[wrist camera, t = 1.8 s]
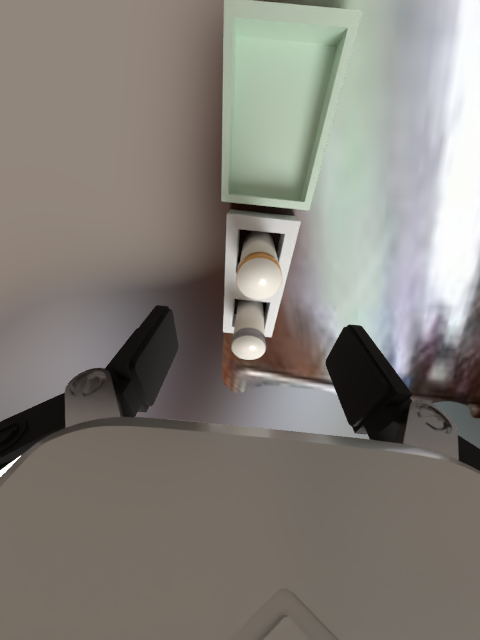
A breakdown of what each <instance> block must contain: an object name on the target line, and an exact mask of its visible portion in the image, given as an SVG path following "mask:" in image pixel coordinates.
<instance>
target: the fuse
mask: <svg viewBox="0 0 480 640" xmlns="http://www.w3.org/2000/svg"><path fill="white" fill-rule="evenodd" d="M231 348H232V351H233V353H234V354H235V355H236V356H238V357H239V358H242V359H246V360H252V359H257V358H259V357H261V356H262V355H263V354H264V352H265V350H266V342H265V331H264V311H263V302H260V301H250V300H241V299H239V300H238V307H237V314H236V321H235V328H234V334H233V338H232V345H231Z"/></svg>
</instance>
